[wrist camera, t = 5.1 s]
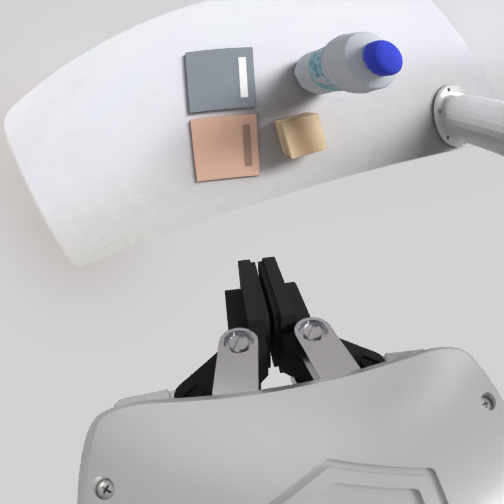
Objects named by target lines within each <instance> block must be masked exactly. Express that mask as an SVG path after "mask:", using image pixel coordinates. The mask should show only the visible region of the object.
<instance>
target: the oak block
mask: <svg viewBox="0 0 504 504" xmlns="http://www.w3.org/2000/svg"><path fill="white" fill-rule="evenodd" d="M274 124H275V128H276V131H277V134H278V137H279V140H280V144H281V147H282V150H283V153H284V154H285V155H287V156H289V157H290V158H292V159H294V158H297V157H301V156H304V155H307V154H311V153H314V152H318V151H321V150H325V149H327V146H326V142H325V138H324V134H323V130H322V127H321V123H320V119H319V116H318V113H307V112H306V113H302V114H298V115H294V116H290V117H286V118H283V119H279V120H276V121H274Z"/></svg>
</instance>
